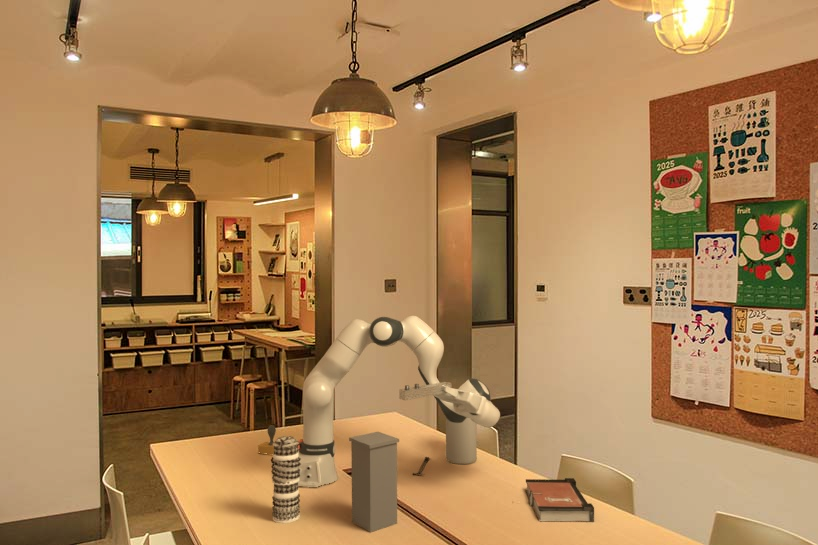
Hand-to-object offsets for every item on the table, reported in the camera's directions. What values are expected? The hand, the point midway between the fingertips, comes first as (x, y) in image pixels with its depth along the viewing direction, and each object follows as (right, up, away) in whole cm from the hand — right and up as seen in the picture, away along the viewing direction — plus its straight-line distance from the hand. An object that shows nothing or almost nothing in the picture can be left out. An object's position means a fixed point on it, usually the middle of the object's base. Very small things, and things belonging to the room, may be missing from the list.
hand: (440, 387), depth 203 cm
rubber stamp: (-69, -39, +55) cm, 97 cm away
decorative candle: (-49, -39, -13) cm, 64 cm away
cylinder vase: (+11, -38, +44) cm, 60 cm away
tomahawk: (-4, -39, +35) cm, 53 cm away
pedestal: (-21, -39, -17) cm, 47 cm away
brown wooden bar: (-5, -2, -4) cm, 7 cm away
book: (+38, -39, -4) cm, 55 cm away
